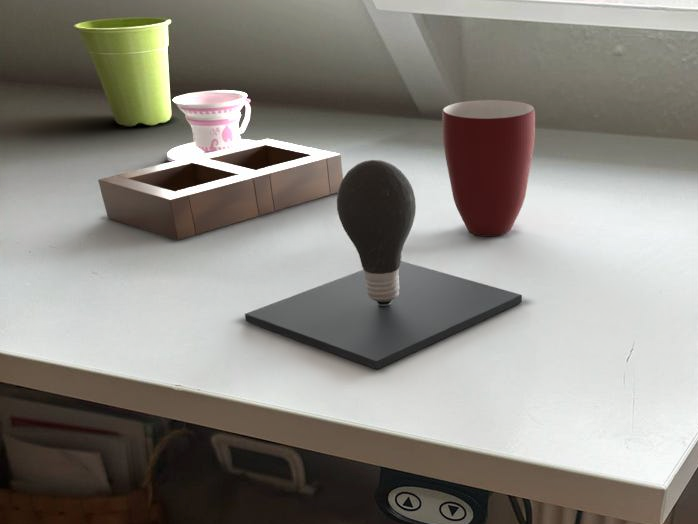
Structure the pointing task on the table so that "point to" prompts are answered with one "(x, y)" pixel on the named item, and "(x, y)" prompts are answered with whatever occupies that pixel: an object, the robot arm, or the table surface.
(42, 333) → the table surface
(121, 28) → the plant pot
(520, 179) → the mug
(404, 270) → the mat
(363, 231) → the light bulb
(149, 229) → the wooden divided tray
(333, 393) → the table surface
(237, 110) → the teacup
